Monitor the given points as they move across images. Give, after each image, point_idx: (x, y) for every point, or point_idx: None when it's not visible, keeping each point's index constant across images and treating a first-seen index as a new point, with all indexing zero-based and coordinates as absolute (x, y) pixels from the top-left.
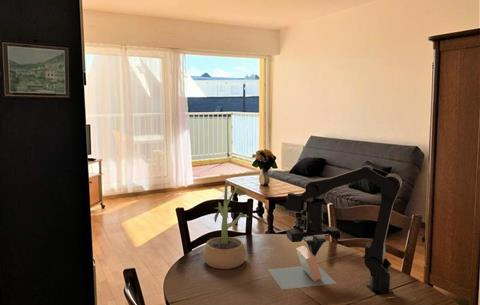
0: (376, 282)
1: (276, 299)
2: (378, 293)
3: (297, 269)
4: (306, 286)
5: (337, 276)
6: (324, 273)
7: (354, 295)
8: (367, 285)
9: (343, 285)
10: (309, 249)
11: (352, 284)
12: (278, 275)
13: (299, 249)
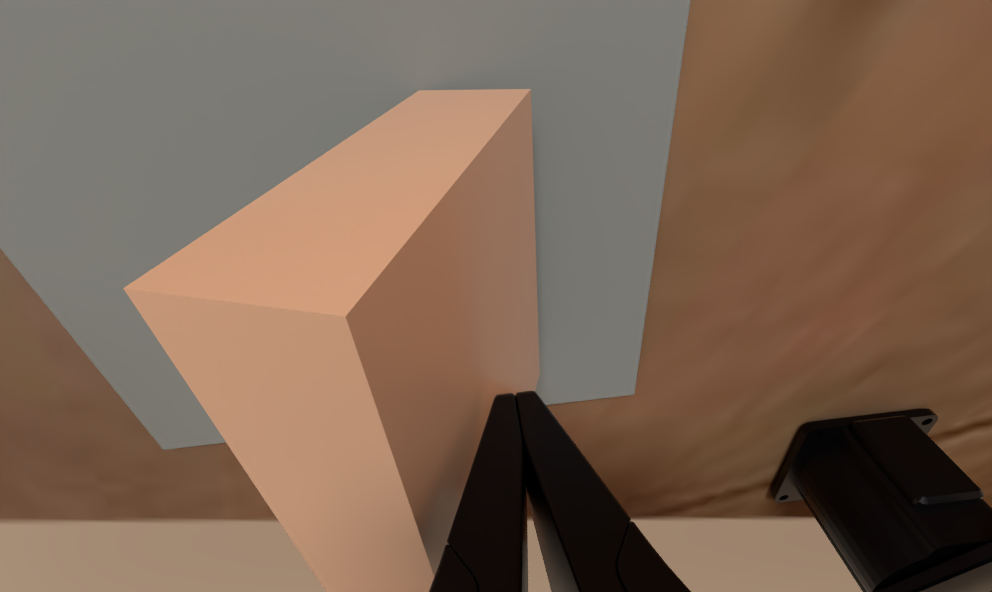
0: (836, 545)
1: (144, 514)
2: (791, 498)
3: (332, 75)
4: None
5: (732, 268)
6: (636, 225)
7: (654, 487)
8: (818, 430)
9: (671, 397)
10: (460, 513)
11: (745, 389)
12: (69, 225)
13: (230, 394)
